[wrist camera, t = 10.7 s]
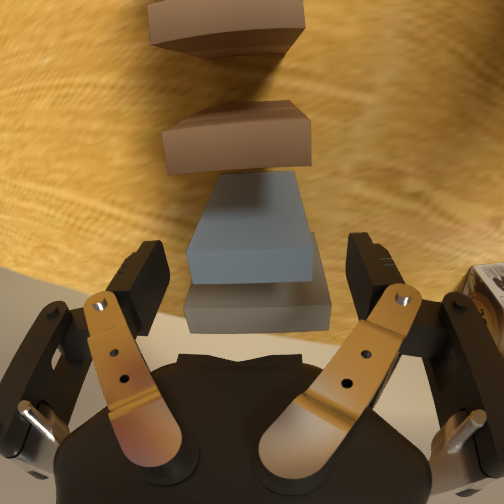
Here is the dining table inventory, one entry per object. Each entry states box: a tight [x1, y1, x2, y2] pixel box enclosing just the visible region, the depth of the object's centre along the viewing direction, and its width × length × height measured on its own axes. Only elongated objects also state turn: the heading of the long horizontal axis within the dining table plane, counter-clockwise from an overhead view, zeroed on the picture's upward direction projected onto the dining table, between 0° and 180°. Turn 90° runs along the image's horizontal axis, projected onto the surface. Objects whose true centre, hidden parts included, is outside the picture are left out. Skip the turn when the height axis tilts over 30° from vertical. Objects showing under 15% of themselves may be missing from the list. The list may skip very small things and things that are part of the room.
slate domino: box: [186, 171, 313, 284], centre depth 17 cm, size 2×5×10 cm, turn 94°
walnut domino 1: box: [147, 0, 305, 59], centre depth 12 cm, size 2×5×10 cm, turn 94°
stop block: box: [183, 232, 332, 334], centre depth 20 cm, size 2×8×8 cm, turn 94°
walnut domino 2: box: [161, 100, 311, 176], centre depth 14 cm, size 2×5×10 cm, turn 94°
